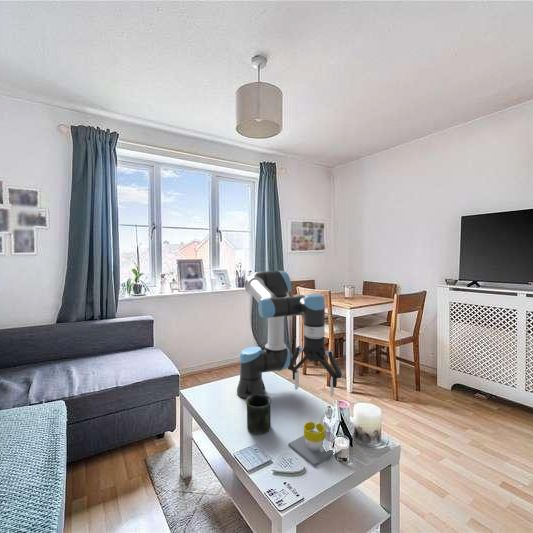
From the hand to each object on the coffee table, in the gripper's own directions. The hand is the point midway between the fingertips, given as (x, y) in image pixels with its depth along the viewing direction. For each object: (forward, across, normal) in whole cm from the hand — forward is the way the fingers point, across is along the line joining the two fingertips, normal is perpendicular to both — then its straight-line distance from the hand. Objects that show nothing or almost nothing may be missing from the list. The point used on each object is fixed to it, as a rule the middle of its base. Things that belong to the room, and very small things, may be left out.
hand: (314, 391), depth 112 cm
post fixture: (+22, 0, 0) cm, 22 cm away
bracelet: (+17, 0, 0) cm, 17 cm away
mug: (+22, -26, +4) cm, 35 cm away
